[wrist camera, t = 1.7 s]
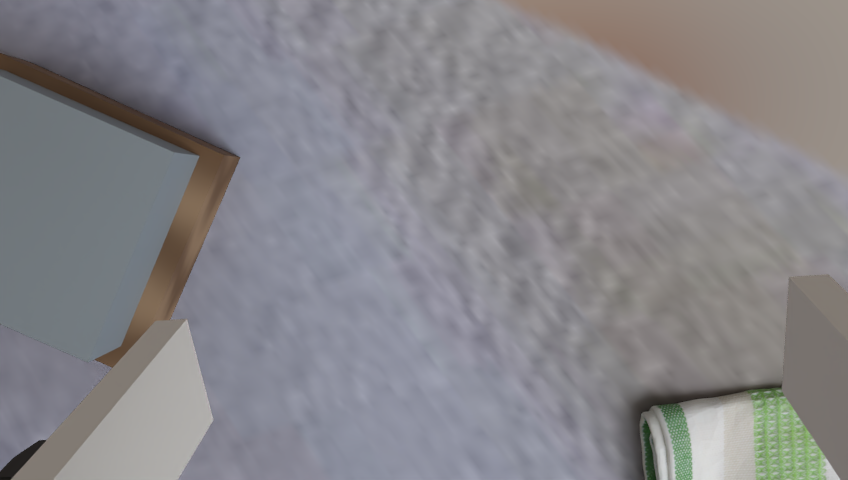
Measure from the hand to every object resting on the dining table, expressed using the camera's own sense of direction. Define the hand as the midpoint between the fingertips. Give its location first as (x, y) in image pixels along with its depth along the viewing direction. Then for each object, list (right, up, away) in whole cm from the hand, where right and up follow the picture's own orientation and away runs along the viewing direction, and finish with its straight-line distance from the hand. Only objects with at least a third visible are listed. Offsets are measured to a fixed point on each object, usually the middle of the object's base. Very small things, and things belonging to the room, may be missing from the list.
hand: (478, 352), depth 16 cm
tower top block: (-22, +4, +26) cm, 34 cm away
